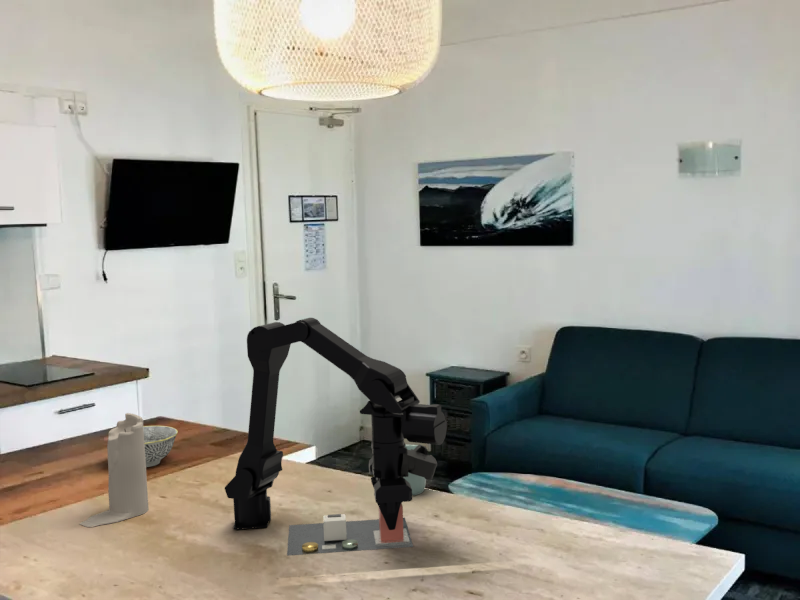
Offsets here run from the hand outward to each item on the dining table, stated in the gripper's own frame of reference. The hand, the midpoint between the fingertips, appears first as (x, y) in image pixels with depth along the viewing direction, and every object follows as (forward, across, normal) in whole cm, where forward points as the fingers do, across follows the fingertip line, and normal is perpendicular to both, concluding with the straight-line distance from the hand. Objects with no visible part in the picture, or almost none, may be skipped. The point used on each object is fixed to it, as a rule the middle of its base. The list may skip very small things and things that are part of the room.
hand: (390, 524), depth 149 cm
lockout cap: (+2, 0, 0) cm, 2 cm away
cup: (+4, +26, -6) cm, 27 cm away
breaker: (+2, +2, +10) cm, 10 cm away
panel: (+4, +3, +8) cm, 9 cm away
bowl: (+4, +60, +55) cm, 82 cm away
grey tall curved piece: (+4, +24, +54) cm, 59 cm away
